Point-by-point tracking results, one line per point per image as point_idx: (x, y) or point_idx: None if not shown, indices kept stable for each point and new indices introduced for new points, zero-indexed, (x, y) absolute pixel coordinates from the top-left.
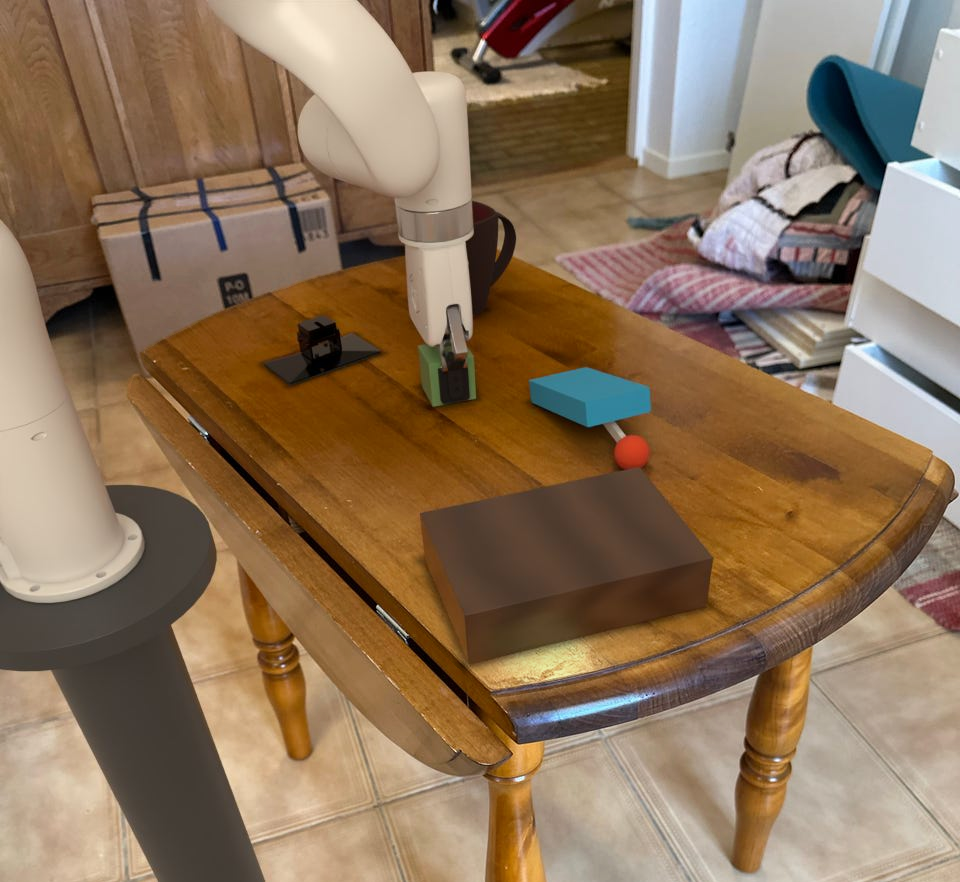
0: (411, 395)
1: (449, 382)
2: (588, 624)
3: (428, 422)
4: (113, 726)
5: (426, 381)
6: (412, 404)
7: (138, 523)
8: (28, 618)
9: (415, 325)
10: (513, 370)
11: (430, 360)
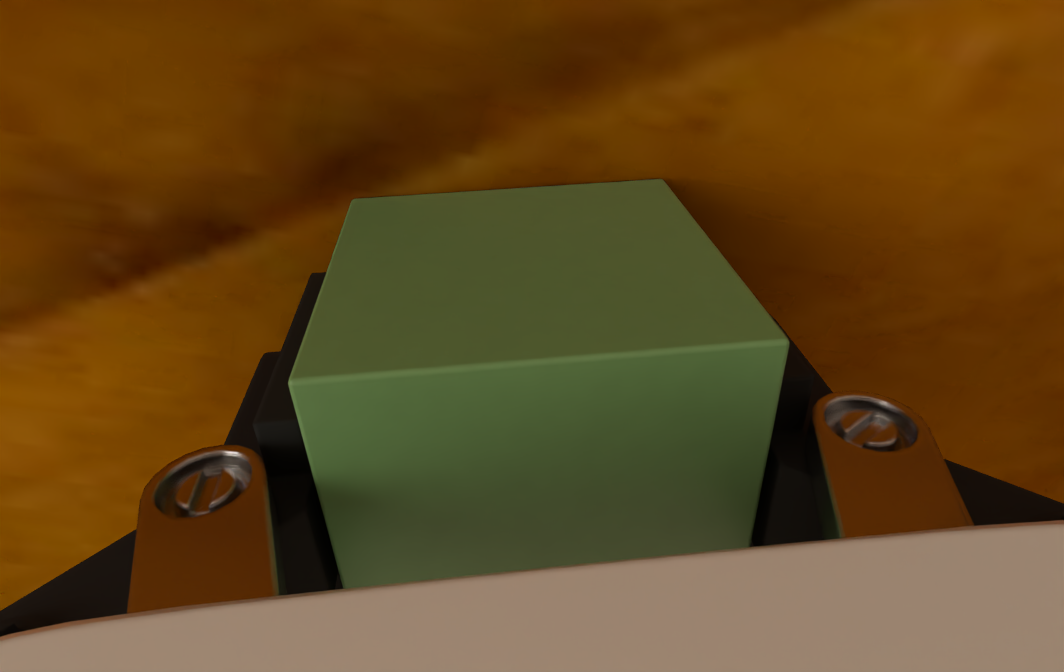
0: (578, 81)
1: (239, 422)
2: None
3: (126, 127)
4: None
5: (489, 241)
6: (435, 61)
7: None
8: None
9: (772, 566)
10: None
11: (379, 407)
